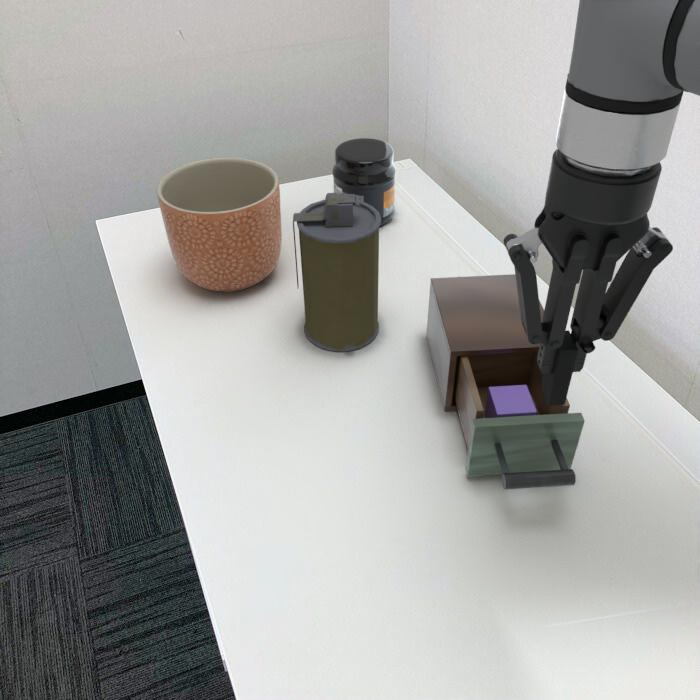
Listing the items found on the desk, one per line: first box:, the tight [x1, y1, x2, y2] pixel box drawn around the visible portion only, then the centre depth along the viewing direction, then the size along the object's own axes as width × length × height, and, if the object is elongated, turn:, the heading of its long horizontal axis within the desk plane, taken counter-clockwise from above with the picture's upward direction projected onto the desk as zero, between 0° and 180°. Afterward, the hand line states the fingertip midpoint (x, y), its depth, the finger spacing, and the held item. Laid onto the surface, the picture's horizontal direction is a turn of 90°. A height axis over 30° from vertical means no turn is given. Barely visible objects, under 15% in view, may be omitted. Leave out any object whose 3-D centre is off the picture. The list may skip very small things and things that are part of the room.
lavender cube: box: [484, 385, 537, 418], centre depth 79 cm, size 4×4×4 cm
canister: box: [292, 192, 381, 352], centre depth 92 cm, size 11×10×20 cm
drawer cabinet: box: [426, 273, 545, 412], centre depth 88 cm, size 15×13×10 cm
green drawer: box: [453, 352, 586, 491], centre depth 78 cm, size 19×11×8 cm, turn 4°
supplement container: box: [332, 137, 397, 226], centre depth 118 cm, size 10×10×12 cm
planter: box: [156, 156, 283, 293], centre depth 104 cm, size 17×17×15 cm
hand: (552, 394), depth 65 cm, fingers closed
